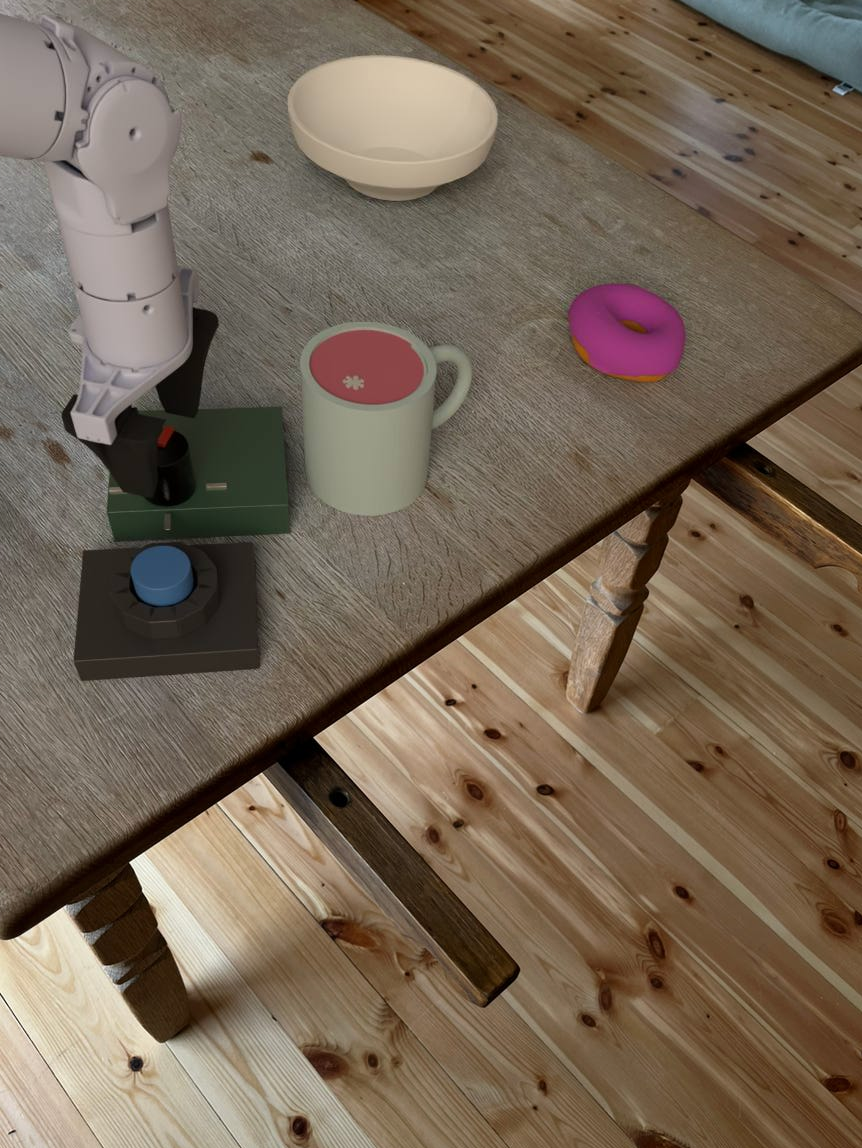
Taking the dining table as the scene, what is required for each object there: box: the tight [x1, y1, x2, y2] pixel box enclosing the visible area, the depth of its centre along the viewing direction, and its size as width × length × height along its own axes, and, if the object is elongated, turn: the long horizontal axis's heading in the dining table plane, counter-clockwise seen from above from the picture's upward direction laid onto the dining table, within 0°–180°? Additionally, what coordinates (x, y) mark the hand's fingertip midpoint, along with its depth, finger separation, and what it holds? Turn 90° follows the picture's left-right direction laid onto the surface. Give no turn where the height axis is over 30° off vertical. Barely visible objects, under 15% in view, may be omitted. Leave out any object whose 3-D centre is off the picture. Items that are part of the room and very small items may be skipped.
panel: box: [106, 406, 291, 543], centre depth 74 cm, size 12×12×3 cm
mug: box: [299, 321, 473, 517], centre depth 75 cm, size 14×9×10 cm
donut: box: [567, 282, 687, 383], centre depth 88 cm, size 10×10×5 cm
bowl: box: [286, 54, 499, 202], centre depth 100 cm, size 20×20×7 cm
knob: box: [144, 426, 195, 507], centre depth 70 cm, size 4×4×4 cm
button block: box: [73, 541, 260, 682], centre depth 67 cm, size 11×9×4 cm
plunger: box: [131, 545, 194, 606], centre depth 65 cm, size 4×4×2 cm
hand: (161, 450), depth 69 cm, fingers open, 7 cm apart
